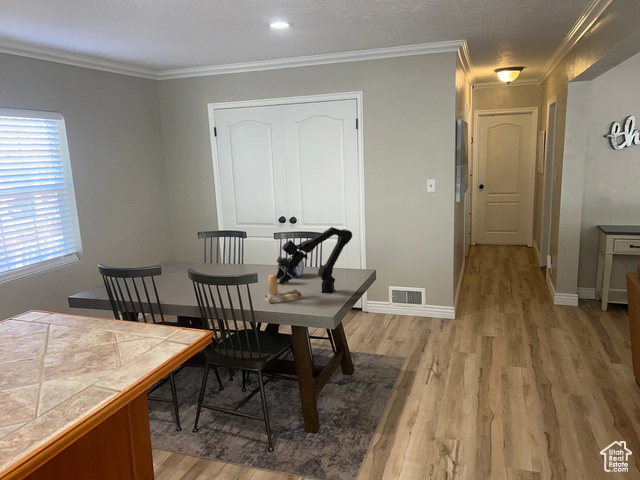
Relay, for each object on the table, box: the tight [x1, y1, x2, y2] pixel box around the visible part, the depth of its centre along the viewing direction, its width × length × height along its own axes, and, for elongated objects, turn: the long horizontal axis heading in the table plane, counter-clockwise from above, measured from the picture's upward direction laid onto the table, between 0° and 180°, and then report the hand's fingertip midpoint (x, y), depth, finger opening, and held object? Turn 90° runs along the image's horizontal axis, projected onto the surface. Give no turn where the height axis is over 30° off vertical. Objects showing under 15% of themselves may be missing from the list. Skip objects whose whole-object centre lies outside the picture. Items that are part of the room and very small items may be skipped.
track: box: [264, 289, 304, 304], centre depth 263 cm, size 20×9×3 cm, turn 111°
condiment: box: [277, 276, 292, 287], centre depth 294 cm, size 7×8×12 cm
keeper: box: [266, 274, 280, 298], centre depth 260 cm, size 6×6×12 cm
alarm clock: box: [289, 255, 305, 278], centre depth 310 cm, size 13×6×15 cm, turn 157°
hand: (277, 281), depth 261 cm, fingers open, 9 cm apart
